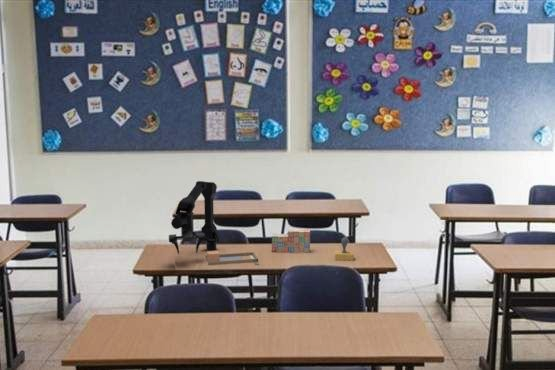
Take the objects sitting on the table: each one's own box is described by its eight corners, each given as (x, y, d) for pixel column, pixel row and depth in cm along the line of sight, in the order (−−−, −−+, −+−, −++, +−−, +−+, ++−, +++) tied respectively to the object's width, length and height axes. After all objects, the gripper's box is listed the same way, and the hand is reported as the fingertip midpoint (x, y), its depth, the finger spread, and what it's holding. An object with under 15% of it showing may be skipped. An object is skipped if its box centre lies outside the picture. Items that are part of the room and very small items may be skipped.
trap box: (205, 260, 336) (205, 255, 336) (253, 257, 342) (253, 252, 341) (208, 267, 324) (208, 262, 323) (258, 264, 329) (258, 258, 329)
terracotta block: (207, 258, 334) (207, 251, 333) (218, 258, 335) (218, 250, 335) (208, 261, 329) (208, 254, 329) (219, 260, 331) (219, 253, 330)
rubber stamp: (334, 260, 336) (335, 238, 334) (334, 257, 342) (335, 235, 339) (353, 260, 335) (354, 239, 333) (353, 257, 341) (353, 236, 339)
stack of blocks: (271, 252, 351) (271, 231, 349) (272, 249, 358) (272, 228, 355) (309, 253, 350) (310, 231, 347) (310, 250, 356) (310, 228, 354)
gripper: (169, 229, 316) (170, 259, 319) (206, 227, 320) (207, 256, 323) (168, 224, 327) (169, 252, 330) (204, 222, 331) (204, 250, 334)
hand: (187, 253), depth 329 cm, fingers open, 9 cm apart
